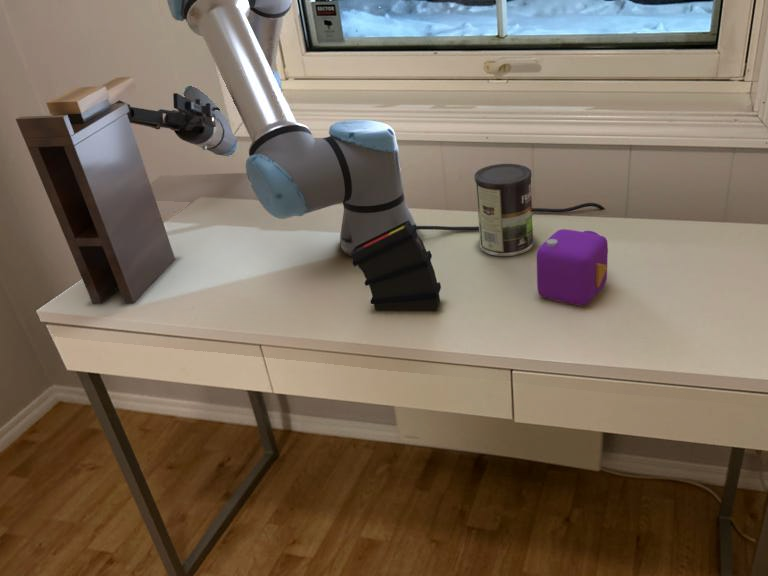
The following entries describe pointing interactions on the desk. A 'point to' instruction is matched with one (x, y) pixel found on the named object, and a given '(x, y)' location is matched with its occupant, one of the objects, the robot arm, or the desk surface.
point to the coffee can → (504, 209)
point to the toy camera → (572, 266)
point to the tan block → (91, 100)
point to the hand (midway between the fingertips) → (141, 102)
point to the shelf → (101, 200)
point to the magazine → (398, 270)
